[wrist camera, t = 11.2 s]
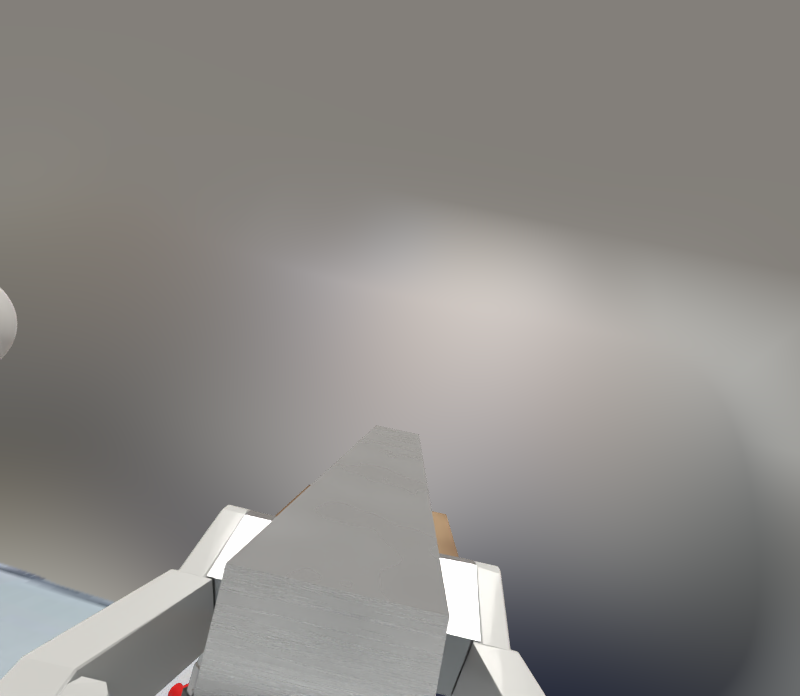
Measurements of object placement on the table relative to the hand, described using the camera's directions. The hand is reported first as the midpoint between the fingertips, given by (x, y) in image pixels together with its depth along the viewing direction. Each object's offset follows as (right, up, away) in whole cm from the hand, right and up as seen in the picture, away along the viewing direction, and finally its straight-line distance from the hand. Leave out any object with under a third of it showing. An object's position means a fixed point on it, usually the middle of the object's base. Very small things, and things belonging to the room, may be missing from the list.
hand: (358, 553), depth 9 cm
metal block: (0, -3, +7) cm, 7 cm away
